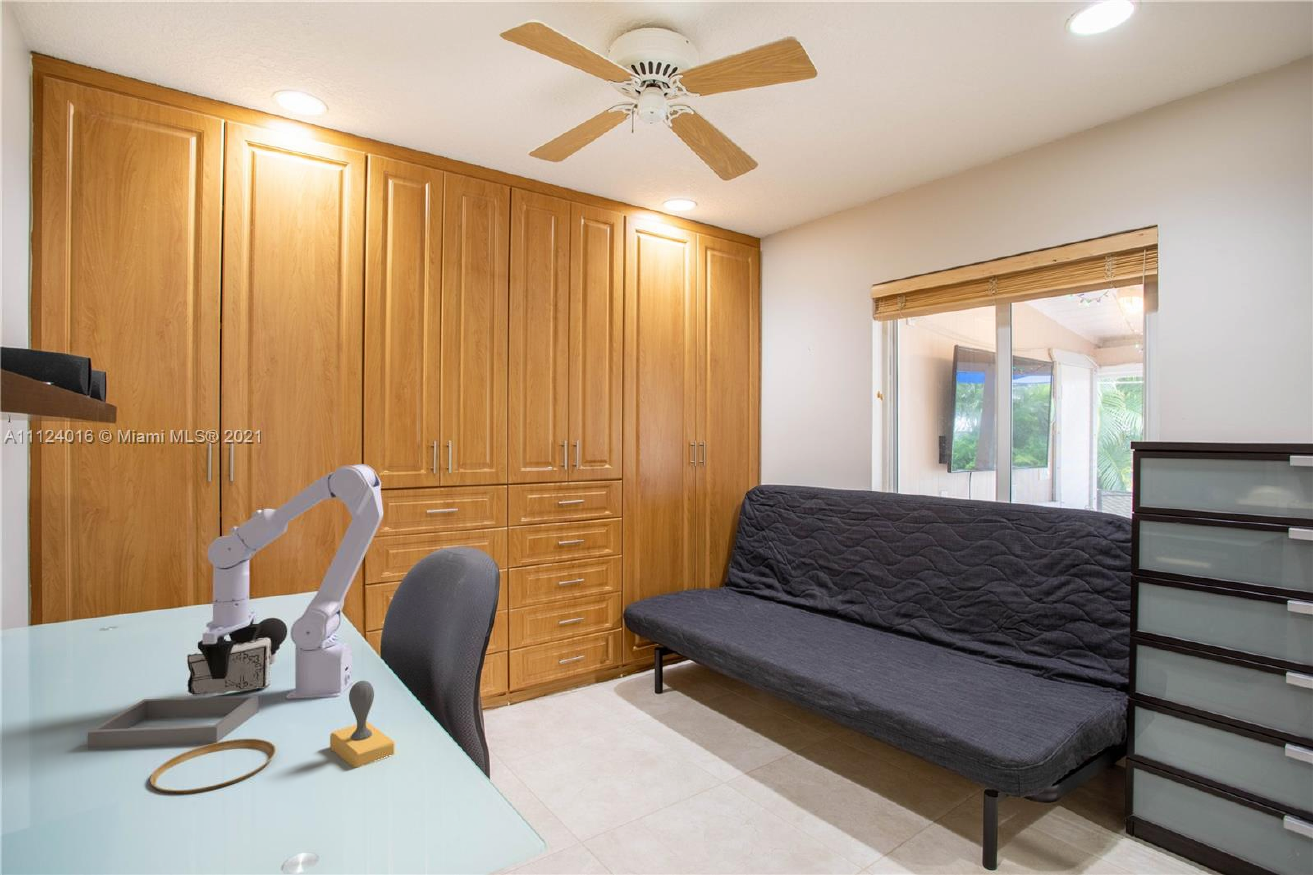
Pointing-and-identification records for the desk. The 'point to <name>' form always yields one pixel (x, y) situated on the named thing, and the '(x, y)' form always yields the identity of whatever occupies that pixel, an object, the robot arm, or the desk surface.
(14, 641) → the desk surface
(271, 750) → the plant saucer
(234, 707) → the box
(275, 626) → the light bulb
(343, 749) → the rubber stamp
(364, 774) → the desk surface
